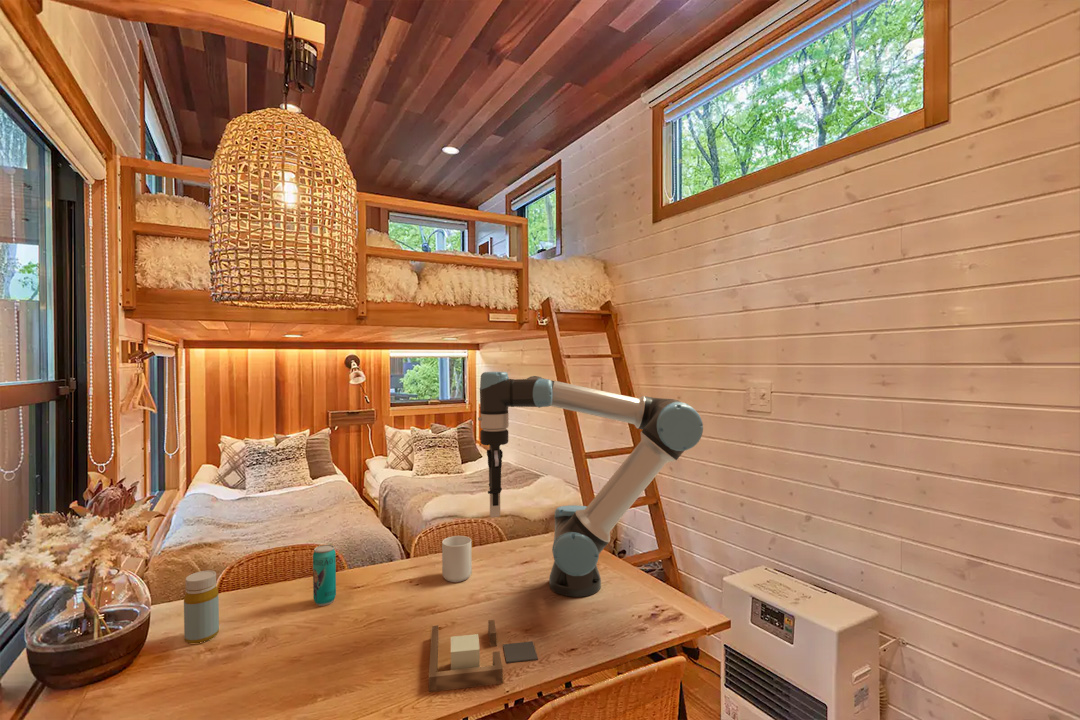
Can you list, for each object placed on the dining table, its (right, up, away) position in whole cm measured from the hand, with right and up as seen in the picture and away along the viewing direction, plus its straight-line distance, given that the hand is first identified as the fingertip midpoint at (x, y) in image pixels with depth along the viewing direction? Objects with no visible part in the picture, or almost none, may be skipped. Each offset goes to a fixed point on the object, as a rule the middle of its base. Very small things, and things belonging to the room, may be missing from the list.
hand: (495, 516), depth 139 cm
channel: (-5, -25, -24) cm, 35 cm away
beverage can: (-47, -25, +3) cm, 54 cm away
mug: (-14, -24, +20) cm, 35 cm away
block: (-4, -25, -28) cm, 38 cm away
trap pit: (+8, -25, -21) cm, 34 cm away
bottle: (-70, -25, -14) cm, 76 cm away
